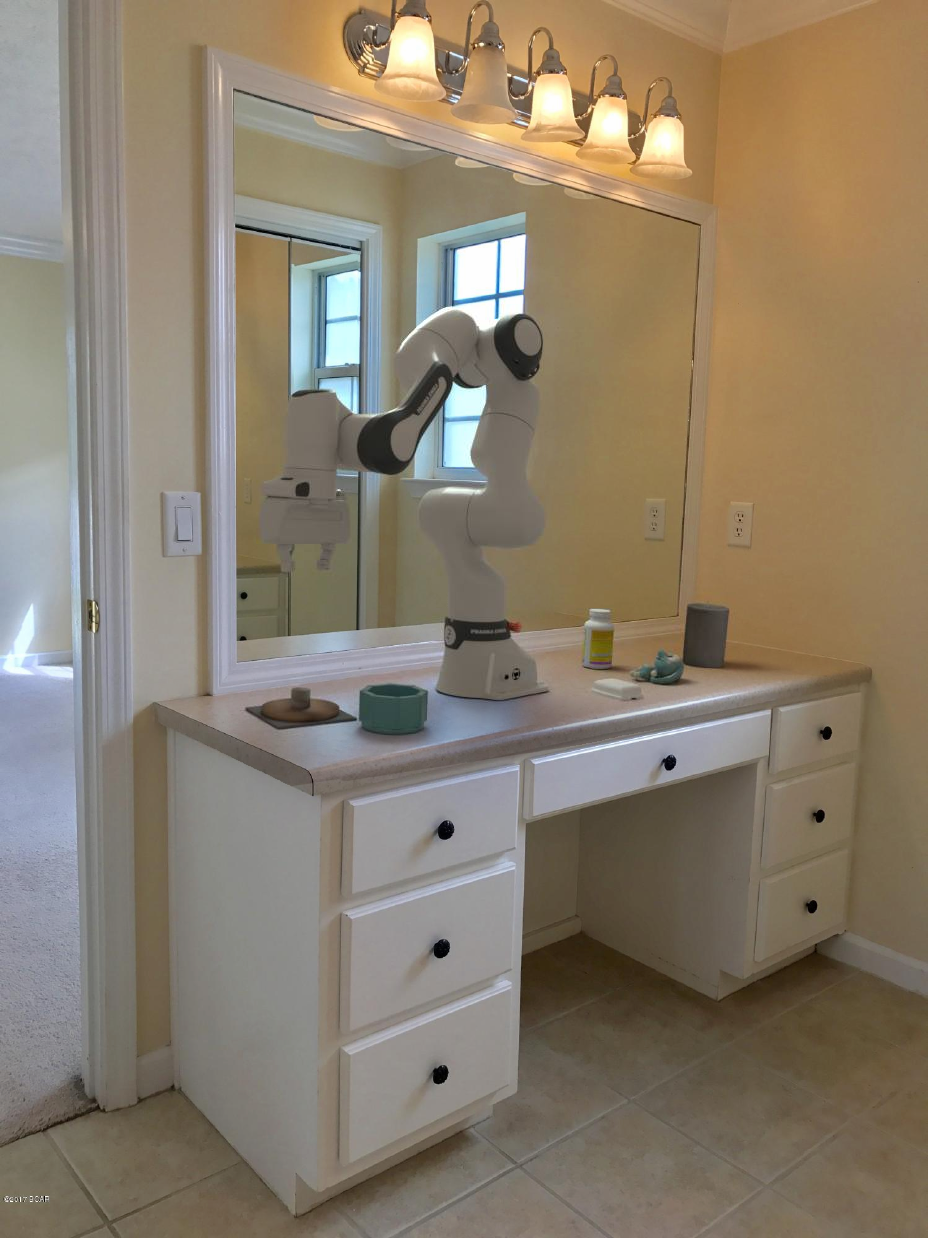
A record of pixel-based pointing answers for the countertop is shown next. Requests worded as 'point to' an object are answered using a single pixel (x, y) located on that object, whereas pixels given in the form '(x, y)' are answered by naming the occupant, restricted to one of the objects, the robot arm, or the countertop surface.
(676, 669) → the stuffed animal
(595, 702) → the countertop surface
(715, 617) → the pillar candle
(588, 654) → the supplement bottle
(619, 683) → the soap
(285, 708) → the lid
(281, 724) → the mat
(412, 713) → the bowl
